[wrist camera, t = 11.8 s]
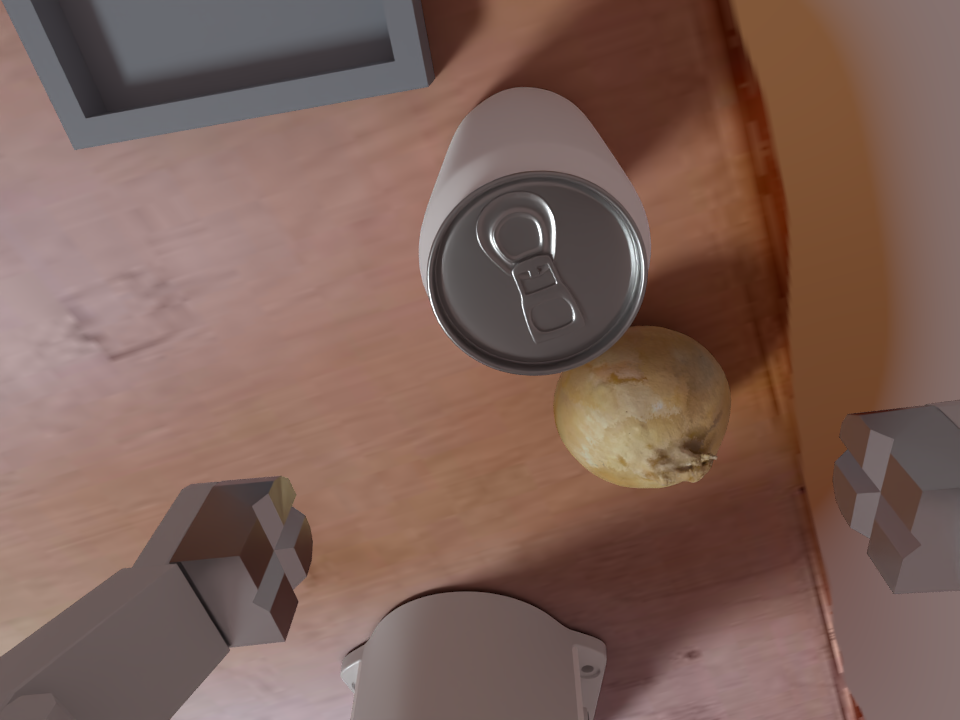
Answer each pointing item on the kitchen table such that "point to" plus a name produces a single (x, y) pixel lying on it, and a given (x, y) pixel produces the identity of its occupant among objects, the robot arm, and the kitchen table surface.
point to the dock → (214, 59)
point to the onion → (645, 410)
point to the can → (533, 237)
